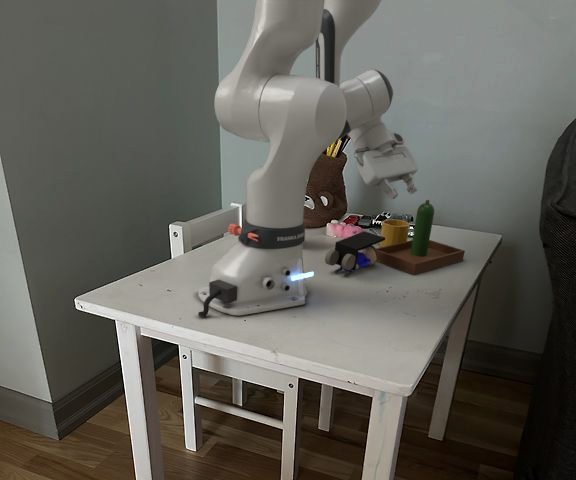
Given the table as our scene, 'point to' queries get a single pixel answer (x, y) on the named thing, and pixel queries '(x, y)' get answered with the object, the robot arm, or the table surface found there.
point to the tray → (418, 257)
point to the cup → (394, 232)
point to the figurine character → (354, 252)
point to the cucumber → (422, 229)
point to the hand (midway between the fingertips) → (404, 194)
